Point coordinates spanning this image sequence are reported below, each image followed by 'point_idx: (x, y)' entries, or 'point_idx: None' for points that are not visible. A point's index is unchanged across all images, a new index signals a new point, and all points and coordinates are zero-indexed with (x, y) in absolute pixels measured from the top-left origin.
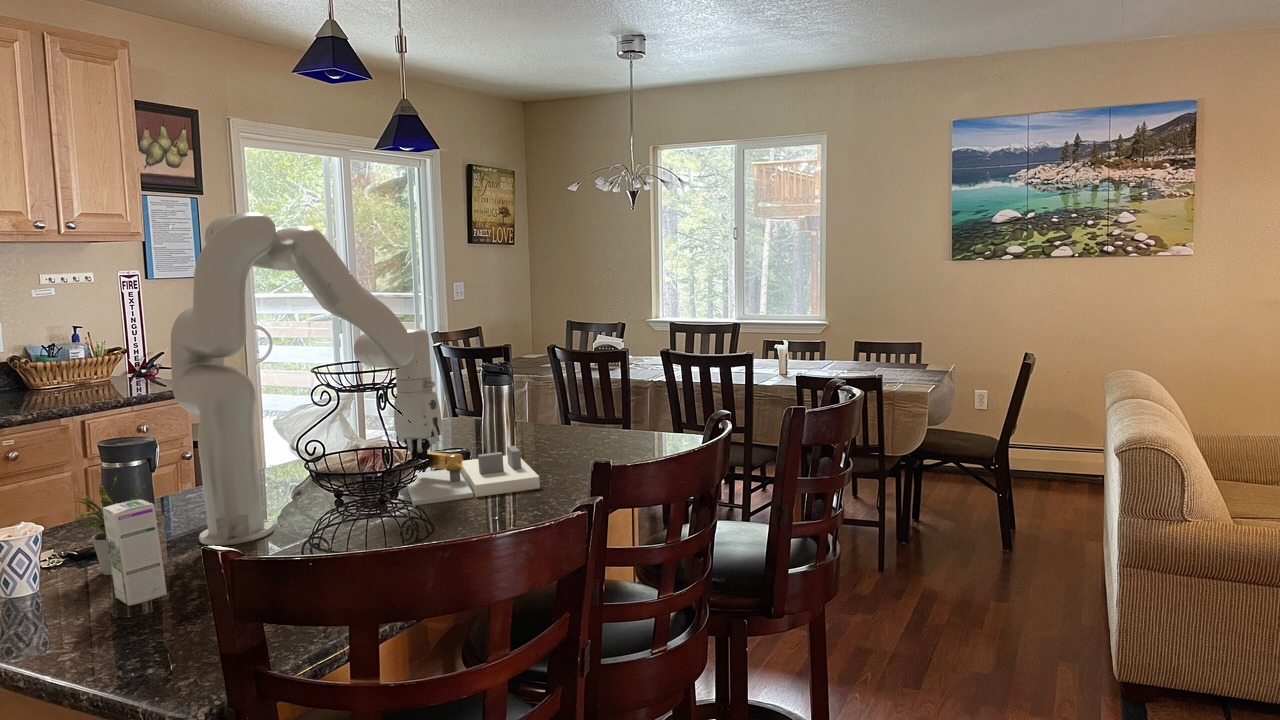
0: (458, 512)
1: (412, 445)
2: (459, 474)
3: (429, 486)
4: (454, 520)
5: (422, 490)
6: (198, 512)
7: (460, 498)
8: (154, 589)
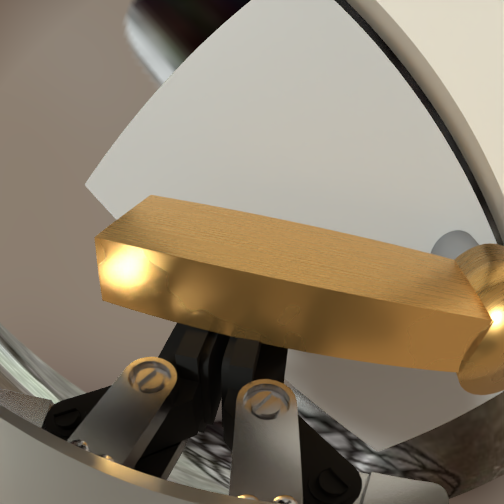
0: (494, 436)
1: (172, 464)
2: None
3: None
4: (488, 457)
5: (360, 392)
6: None
7: None
8: None
